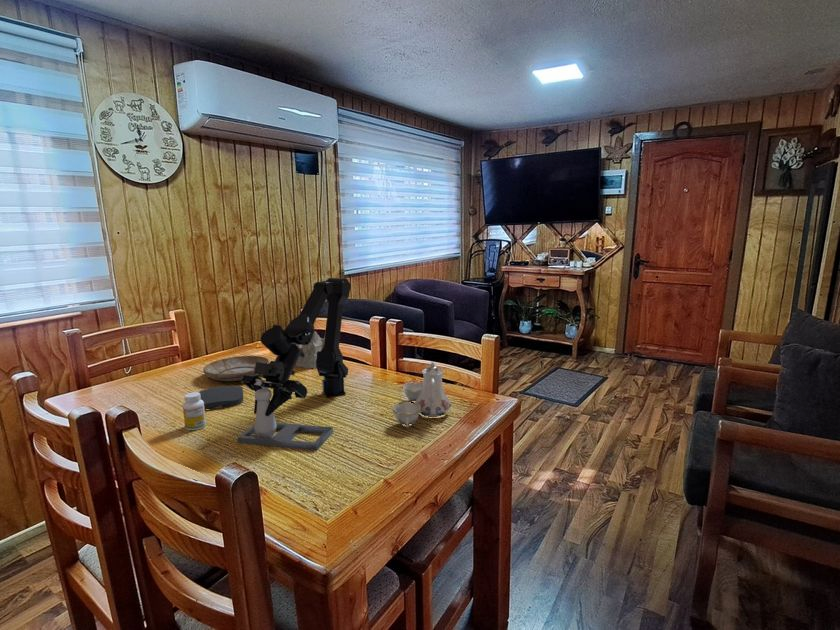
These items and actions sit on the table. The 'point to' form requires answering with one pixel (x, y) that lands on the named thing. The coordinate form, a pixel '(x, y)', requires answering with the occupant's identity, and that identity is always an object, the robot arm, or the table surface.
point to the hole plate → (288, 436)
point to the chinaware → (423, 397)
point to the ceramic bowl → (233, 367)
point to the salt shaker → (264, 423)
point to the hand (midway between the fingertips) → (260, 414)
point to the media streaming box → (222, 397)
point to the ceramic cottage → (310, 352)
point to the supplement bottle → (194, 411)
